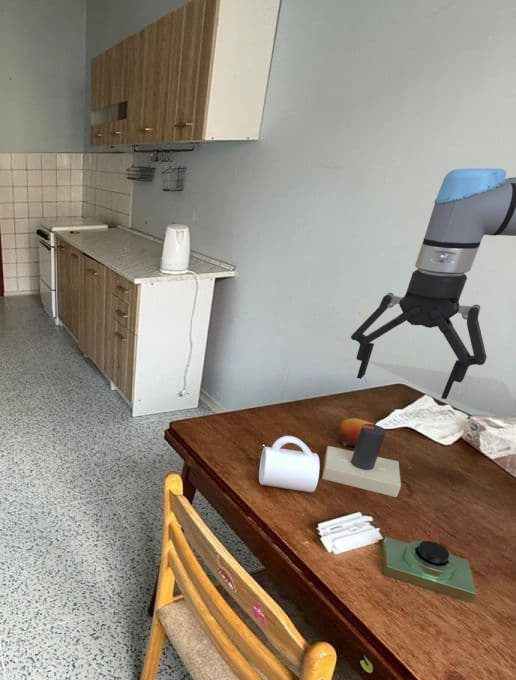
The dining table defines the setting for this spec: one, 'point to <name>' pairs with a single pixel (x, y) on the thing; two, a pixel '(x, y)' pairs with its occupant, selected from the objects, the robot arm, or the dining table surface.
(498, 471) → the dining table surface
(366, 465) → the dark grey cylinder
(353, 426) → the fruit
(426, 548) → the button
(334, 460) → the panel
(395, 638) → the dining table surface
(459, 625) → the dining table surface
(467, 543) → the dining table surface
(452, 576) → the button box
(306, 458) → the mug
